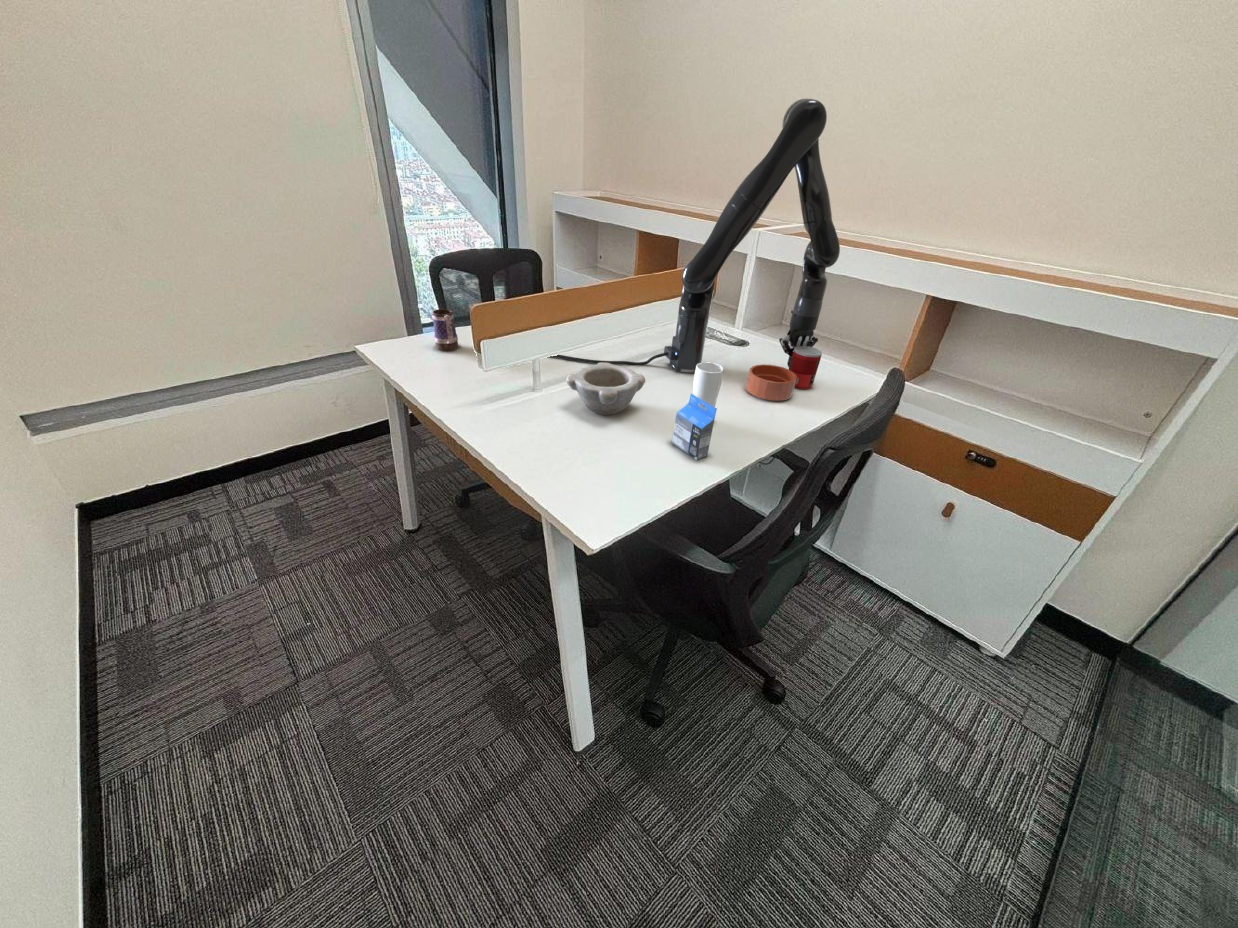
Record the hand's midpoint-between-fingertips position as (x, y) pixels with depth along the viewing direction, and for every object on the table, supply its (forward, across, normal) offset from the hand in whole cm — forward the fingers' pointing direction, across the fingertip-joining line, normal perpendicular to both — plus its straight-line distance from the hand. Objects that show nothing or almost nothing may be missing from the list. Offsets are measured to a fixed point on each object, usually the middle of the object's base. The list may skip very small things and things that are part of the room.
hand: (791, 367), depth 155 cm
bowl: (+4, +13, +8) cm, 15 cm away
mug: (+4, +100, -44) cm, 109 cm away
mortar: (+4, +63, +7) cm, 64 cm away
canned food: (+4, 0, +5) cm, 6 cm away
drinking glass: (+4, +41, +20) cm, 46 cm away
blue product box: (+4, +50, +32) cm, 60 cm away
